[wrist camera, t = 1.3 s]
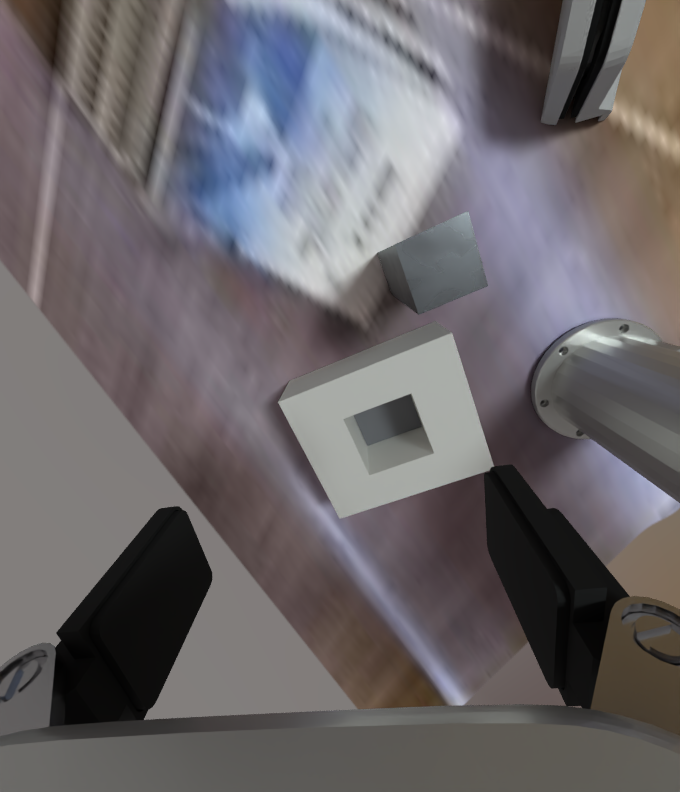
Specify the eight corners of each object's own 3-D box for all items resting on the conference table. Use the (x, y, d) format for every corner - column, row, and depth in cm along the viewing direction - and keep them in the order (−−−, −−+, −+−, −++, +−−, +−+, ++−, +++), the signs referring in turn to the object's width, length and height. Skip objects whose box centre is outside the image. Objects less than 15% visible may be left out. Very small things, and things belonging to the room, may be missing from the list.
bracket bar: (418, 234, 31) (468, 211, 17) (432, 277, 32) (488, 285, 19) (377, 253, 31) (394, 244, 18) (392, 294, 32) (418, 314, 19)
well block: (435, 321, 33) (451, 332, 28) (473, 438, 38) (494, 468, 32) (289, 380, 36) (277, 402, 30) (341, 483, 40) (339, 518, 35)
